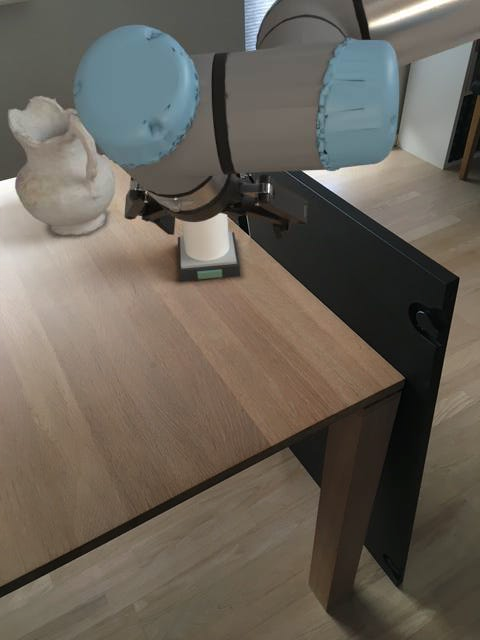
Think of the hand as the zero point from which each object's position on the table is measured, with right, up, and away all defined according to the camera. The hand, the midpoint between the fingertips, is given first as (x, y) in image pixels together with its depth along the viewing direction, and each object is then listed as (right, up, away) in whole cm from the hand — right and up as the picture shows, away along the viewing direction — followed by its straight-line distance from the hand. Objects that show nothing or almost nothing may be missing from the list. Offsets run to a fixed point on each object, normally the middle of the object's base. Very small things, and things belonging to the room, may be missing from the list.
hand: (225, 225), depth 67 cm
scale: (-4, -1, +35) cm, 35 cm away
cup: (-4, +2, +33) cm, 34 cm away
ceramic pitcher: (-32, +9, +48) cm, 58 cm away
